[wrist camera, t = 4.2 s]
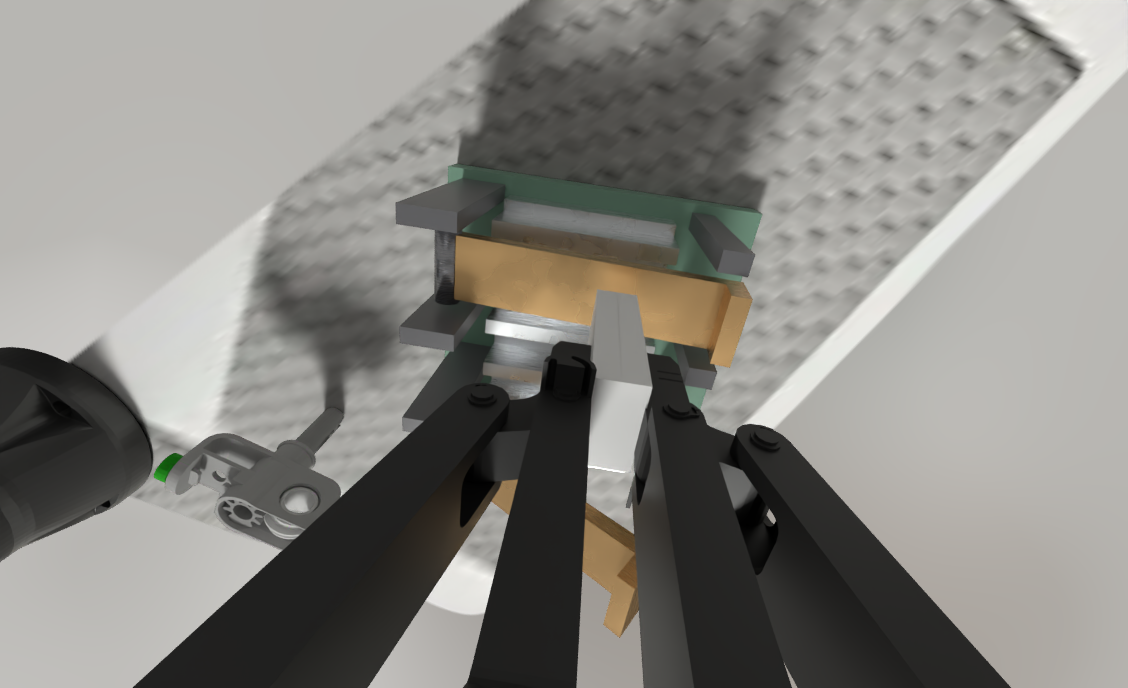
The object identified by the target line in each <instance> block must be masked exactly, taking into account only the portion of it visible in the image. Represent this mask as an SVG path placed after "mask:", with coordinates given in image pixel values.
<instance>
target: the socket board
mask: <svg viewBox="0 0 1128 688" xmlns="http://www.w3.org/2000/svg"><path fill="white" fill-rule="evenodd" d="M461 178H466V179H472V180H479V181H485V182H492V183H498V184H505V185H506V186H505V198H507V197H508V196H509V195H514V196H520V197H527V198H533V199H540V200H546V201H553V202H559V203H566V204H572V205H579V206H585V207H592V208H598V209H605V210H611V211H618V212H624V213H631V214H637V215H644V216H650V217H657V218H663V219H670V220H674V222H675V224H676V230H675V234H674V239H675V241H676V243H677V245H678V247H679V249H680V251H679V255H678V259H677V263H676V266H675V265H668V264H667V269H672V270H678V271H683V272H689V273H694V274H700V275H705V276H711V277H716V278H722V279H728V280H733V281H739V282H741V279H742V276H737V275H731V274H725V273H718V272H717V271H716V270H715V268H714V267H713V265H712V264H711V262H710V261H709V259H708V258H707V256H706V255H705V253H704V252H703V250H702V249H701V247H700V246H699V244H698V243H697V241H696V240H695V238H694V237H693V235H692V234H691V232H690V231H689V229H688V228H689V224H690V220H691V216H692V212H693V213H700V214H707V215H713V216H716V217H717V218H718V219H719V220H720V221H721V222H722V223H723V224H724V225H725V226H726V227H727V228H728V229H729V230H730V231H731V232H732V233H733V234H734V235H735V236H736V237H737V238H738V239H740V240H741V241H742V242H743V243H744V244H745V245H746V246H747V247H748V248H749V249H750V250H751V248H752V245H753V242H754V239H755V235H756V232H757V229H758V226H759V223H760V220H761V217H762V214H761V213H760V212H758V211H757V210H755V209H750V208H743V207H737V206H730V205H724V204H717V203H710V202H704V201H697V200H691V199H684V198H678V197H671V196H665V195H658V194H651V193H645V192H638V191H632V190H625V189H619V188H612V187H606V186H599V185H592V184H586V183H579V182H573V181H566V180H560V179H553V178H546V177H540V176H533V175H527V174H520V173H514V172H507V171H501V170H494V169H487V168H481V167H474V166H468V165H461V164H454V165H451V166H448V183H450V182H453V181H456V180H458V179H461ZM503 211H504V200H503V201H502V202H501V203H499V204H498V205H496V206H495V207H493V208H492V209H491V210H489V211H488V212H486V213H485V214H484V215H482V216H481V217H479V218H478V219H477V220H475V221H474V222H472V223H471V224H469V225H468V226H467V227H465V228H464V229H463V232H467V233H473V234H478V235H484V236H489V237H491V228H492V220H493V219H494V218H495V217H496V216H498V215H499V214H500V213H501V212H503ZM495 238H497V237H495ZM500 239H502V238H500ZM493 308H494V307H491V306H485V308H484V309H483V311H482V312H481V313H480V315H479V316H478V318H477V319H476V321H475V322H474V323H473V325H472V326H471V328H470V329H469V330H468V332H467V333H466V335H465V336H464V338H463V339H462V340H461V342H467V343H473V344H479V345H485V346H491V347H492V346H493V344H494V337H495V334H489V333H485V327H486V318H487V317H488V315H489V314H490V312H491V311H492V309H493ZM654 341H655V351H654V354H657V355H663V356H670V357H671V358H672V359H673V360H674V361H675V362H676V363H677V364H678V365H679V363H678V360H677V356H676V352H675V348H674V344H673V342H669V341H664V340H659V339H654ZM449 352H450V351H446V350H445V357H446V356H447V355H448V353H449ZM679 368H680V367H679ZM681 376H682V375H681ZM491 379H492V376H488V375H484V377H483V379H482V380H481V382H480V383H488V384H490V382H491ZM685 388H686V392H687V395H688V399H689V402H690V403H692V404H694V405H695V406H696V407H698V408H699V409H700V408H701V405H702V402H703V399H704V395H705V392H706V389H703V388H697V387H691V386H685Z"/></svg>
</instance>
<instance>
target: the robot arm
mask: <svg viewBox="0 0 1128 688" xmlns="http://www.w3.org/2000/svg"><path fill="white" fill-rule="evenodd" d="M634 458H635V473H634V477H633V481H632V485H631V488H630V492H629V496H628V500H627V504H626V508H630V506H631V503H632V504H633V520H634V537H635V553H636V569H637V586H638V602H639V618H640V634H641V650H642V667H643V683H644V688H792V687H791V684H790V681H789V677H788V674H787V671H786V668H785V665H786V667H787V669H788V671H789V672H790V674H791V676H792V678H793V680H794V681H795V684H796V686H797V687H798V688H1011V687H1010V686H1009V685H1008V684H1007V683H1006V682H1005V680H1004V679H1003V678H1002V677H1001V676H1000V675H999V674H998V673H997V672H996V670H995V669H994V668H993V667H992V666H991V665H990V664H989V663H988V662H987V661H986V659H985V658H984V657H983V656H982V655H981V654H980V653H979V652H978V650H976V648H975V647H974V646H973V645H972V644H971V643H970V642H969V640H968V639H967V638H966V637H965V636H964V635H963V634H962V633H961V631H960V630H959V629H958V628H957V627H956V626H955V625H954V624H953V623H952V621H951V620H950V619H949V618H948V617H947V616H946V615H945V614H944V613H943V612H942V610H941V609H940V608H939V607H938V606H937V605H936V604H935V603H934V602H933V600H932V599H931V598H930V597H929V596H928V595H927V594H926V593H925V592H924V590H923V589H922V588H921V587H920V586H919V585H918V584H917V583H916V582H915V580H914V579H913V578H912V577H911V576H910V575H909V574H908V573H907V572H906V570H905V569H904V568H903V567H902V566H901V565H900V564H899V563H898V561H896V559H895V558H894V557H893V556H892V555H891V554H890V553H889V551H888V550H887V549H886V548H885V547H884V546H883V545H882V544H881V543H880V542H879V540H878V539H877V538H876V537H875V536H874V535H873V534H872V533H871V531H870V530H869V529H868V528H867V527H866V526H865V525H864V524H863V523H862V521H861V520H860V519H859V518H858V517H857V516H856V515H855V514H854V513H853V511H852V510H851V509H850V508H849V507H848V506H847V505H846V504H845V503H844V501H843V500H842V499H841V498H840V497H839V496H838V495H837V494H836V493H835V492H834V490H833V489H832V488H831V487H830V486H829V485H828V484H827V483H826V481H825V480H824V479H823V478H822V477H821V476H820V475H819V474H818V473H817V471H816V470H815V469H814V468H813V467H812V466H811V465H810V464H809V462H808V461H807V460H806V459H805V458H804V457H803V456H802V455H801V454H800V453H799V451H798V450H797V449H796V448H795V447H794V446H793V445H792V444H791V442H790V441H788V440H787V439H786V438H785V437H784V436H783V435H781V434H779V433H778V432H776V431H774V430H773V429H771V428H768V427H766V426H762V425H754V424H747V425H742V426H740V427H739V428H738V429H737V431H736V434H735V436H734V435H731V434H728V433H725V432H722V431H719V430H717V429H715V428H712V427H710V426H708V425H707V423H706V420H705V417H704V415H703V413H702V412H701V410H700V409H699V408H698V407H696V406H695V405H694V404H692V403H690V402H689V399H688V395H687V392H686V388H685V385H684V383H683V378H682V376H681V371H680V368H679V365H678V364H677V363H676V362H675V361H674V360H673V359H672V358H671V357H670V356H663V355H657V354H651V353H647V351H646V345H645V339H644V333H643V327H642V322H641V316H640V310H639V304H638V298H637V295H631V294H625V293H618V292H612V291H605V290H599V289H597V293H596V299H595V305H594V310H593V316H592V322H591V328H590V334H589V339H588V345H586V344H579V343H573V342H567V341H560V342H558V343H557V344H556V345H554V346H553V348H552V352H551V355H550V356H548V357H547V358H546V359H545V360H544V363H543V371H542V378H541V386H540V392H539V393H538V394H536V395H534V396H532V397H529V398H525V399H517V400H510V398H509V395H508V393H507V392H506V391H505V390H504V389H503V388H501V387H498V386H496V385H493V384H488V383H473V384H469V385H465V386H463V387H462V388H460V389H458V390H457V391H456V392H455V393H454V394H453V395H452V396H451V397H449V398H448V399H447V400H446V401H445V402H444V403H443V404H442V405H441V406H440V407H439V408H437V409H436V410H435V411H434V412H433V413H432V414H431V415H430V416H429V417H428V418H427V419H425V420H424V421H423V422H422V423H421V424H420V425H419V426H418V427H417V428H416V429H414V430H413V431H412V432H411V433H410V434H409V435H408V436H407V437H406V438H405V439H404V440H402V441H401V442H400V443H399V444H398V445H397V446H396V447H395V448H394V449H393V450H392V451H390V452H389V453H388V454H387V455H386V456H385V457H384V458H383V459H382V460H381V461H380V462H378V463H377V464H376V465H375V466H374V467H373V468H372V469H371V470H370V471H369V472H368V473H366V474H365V475H364V476H363V477H362V478H361V479H360V480H359V481H358V482H357V483H356V484H354V485H353V486H352V487H351V488H350V489H349V490H348V491H347V492H346V493H345V494H344V495H342V496H341V497H340V498H339V499H338V500H337V501H336V502H335V503H334V504H333V505H332V506H330V507H329V508H328V509H327V510H326V511H325V512H324V513H323V514H322V515H321V516H319V517H318V518H317V519H316V520H315V521H314V522H313V523H312V524H311V525H310V526H309V527H307V528H306V529H305V530H304V531H303V532H302V533H301V534H300V535H299V536H298V537H297V538H295V539H294V540H293V541H292V542H291V543H290V544H289V545H288V546H287V547H286V548H285V549H283V550H282V551H281V552H280V553H279V554H278V555H277V556H276V557H275V558H274V559H273V560H272V561H270V562H269V563H268V564H267V565H266V566H265V567H264V568H263V569H262V570H261V571H259V572H258V574H256V575H255V576H254V577H253V578H252V579H251V580H250V581H249V582H247V583H246V584H245V585H244V586H243V587H242V588H241V589H240V590H239V591H238V592H237V593H235V594H234V595H233V596H232V597H231V598H230V599H229V600H228V601H227V602H226V603H225V604H224V605H222V606H221V607H220V608H219V609H218V610H217V611H216V612H215V613H214V614H213V615H211V616H210V617H209V618H208V619H207V620H206V621H205V622H204V623H203V624H202V625H200V626H199V627H198V628H197V629H196V630H195V631H194V632H193V633H192V634H191V635H190V636H189V637H187V638H186V639H185V640H184V641H183V642H182V643H181V644H180V645H179V646H178V647H176V648H175V649H174V650H173V651H172V652H171V653H170V654H169V655H168V656H167V657H166V658H164V659H163V660H162V661H161V662H160V663H159V664H158V665H157V666H156V667H155V668H154V669H153V670H151V671H150V672H149V673H148V674H147V675H146V676H145V677H144V678H143V679H142V680H140V681H139V682H138V683H137V684H136V685H135V686H134V687H133V688H367V687H368V686H369V685H370V683H371V682H372V680H373V679H374V677H375V676H376V674H377V673H378V671H379V670H380V668H381V667H382V665H383V664H384V662H385V661H386V659H387V658H388V656H389V655H390V653H391V652H392V650H393V649H394V647H395V646H396V644H397V643H398V641H399V639H400V638H401V637H402V635H403V634H404V632H405V630H406V629H407V628H408V626H409V624H410V623H411V621H412V620H413V618H414V617H415V615H416V614H417V612H418V611H419V609H420V608H421V606H422V605H423V603H424V602H425V600H426V599H427V597H428V596H429V594H430V593H431V591H432V590H433V588H434V587H435V585H436V584H437V582H438V581H439V579H440V578H441V576H442V575H443V573H444V572H445V570H446V569H447V567H448V566H449V564H450V563H451V561H452V560H453V558H454V557H455V555H456V554H457V552H458V551H459V549H460V548H461V546H462V545H463V543H464V542H465V540H466V539H467V537H468V536H469V534H470V533H471V531H472V530H473V528H474V526H475V525H476V523H477V522H478V520H479V519H480V517H481V516H482V514H483V513H484V511H485V510H486V508H487V507H488V505H489V504H490V502H491V501H492V499H493V498H494V496H495V495H496V493H497V492H498V490H499V489H500V486H501V483H502V481H507V480H518V481H517V485H516V489H515V493H514V497H513V502H512V506H511V510H510V514H509V518H508V522H507V526H506V530H505V534H504V538H503V542H502V546H501V550H500V554H499V558H498V562H497V566H496V570H495V575H494V579H493V583H492V587H491V591H490V595H489V599H488V603H487V607H486V611H485V615H484V619H483V623H482V628H481V631H480V635H479V640H478V644H477V648H476V652H475V656H474V660H473V664H472V668H471V671H470V675H469V678H468V681H467V683H466V685H465V686H464V687H463V688H576V683H577V682H576V681H577V664H578V644H579V626H580V607H581V587H582V570H583V551H584V532H585V513H586V494H587V475H588V466H593V467H599V468H605V469H612V470H618V471H624V472H630V473H631V469H632V465H633V462H634ZM150 470H151V453H150V448H149V445H148V442H147V439H146V437H145V435H144V433H143V431H142V429H141V427H140V426H139V424H138V423H137V421H136V420H135V418H134V417H133V415H132V414H131V413H130V412H129V410H128V409H127V408H126V407H125V406H124V404H123V403H122V402H121V401H120V400H119V399H118V398H117V397H116V396H115V395H114V394H113V393H111V392H110V391H109V390H108V389H107V388H106V387H104V386H103V385H102V384H101V383H99V382H98V381H97V380H95V379H94V378H93V377H91V376H90V375H88V374H87V373H85V372H83V371H82V370H80V369H79V368H77V367H75V366H73V365H71V364H69V363H67V362H65V361H63V360H61V359H58V358H56V357H54V356H51V355H48V354H45V353H42V352H39V351H35V350H30V349H25V348H14V347H6V348H0V562H1V561H2V560H4V559H5V558H6V557H8V556H9V555H11V554H12V553H14V552H15V551H17V550H18V549H20V548H22V547H24V546H26V545H29V544H31V543H33V542H35V541H38V540H40V539H42V538H44V537H47V536H49V535H52V534H54V533H56V532H58V531H61V530H63V529H65V528H68V527H70V526H72V525H74V524H77V523H79V522H81V521H83V520H85V519H88V518H90V517H92V516H93V515H96V514H100V513H102V512H104V511H107V510H109V509H111V508H113V507H114V506H116V505H118V504H119V503H120V502H122V501H123V500H124V499H126V498H127V497H128V496H130V495H131V494H132V493H133V492H135V491H136V490H137V489H139V488H140V487H141V486H142V485H143V484H144V483H145V482H146V480H147V478H148V476H149V474H150ZM769 509H770V510H771V512H772V513H773V515H774V517H775V519H776V522H775V524H773V523H772V522H771V521H770V520H769V518H768V517H767V512H768V510H769ZM783 661H784V662H783ZM784 663H785V665H784Z"/></svg>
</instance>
